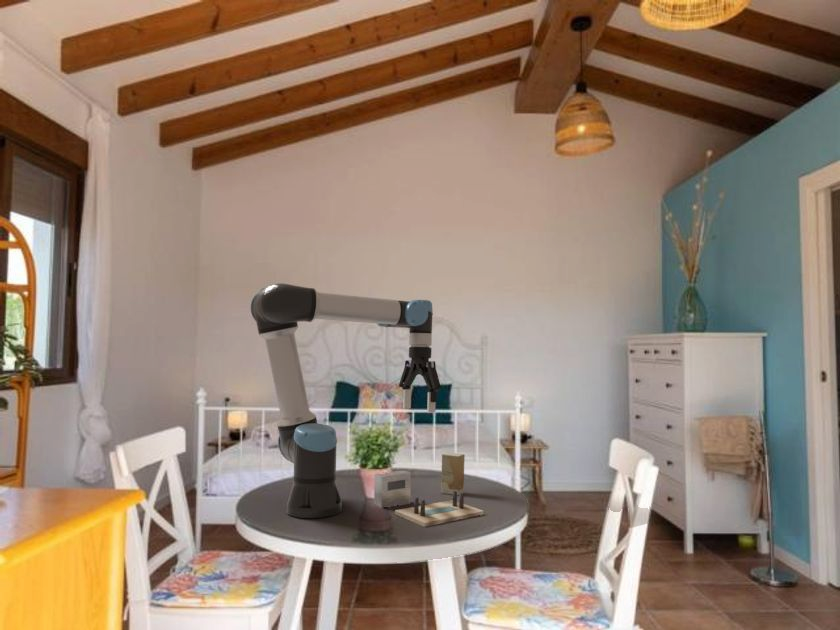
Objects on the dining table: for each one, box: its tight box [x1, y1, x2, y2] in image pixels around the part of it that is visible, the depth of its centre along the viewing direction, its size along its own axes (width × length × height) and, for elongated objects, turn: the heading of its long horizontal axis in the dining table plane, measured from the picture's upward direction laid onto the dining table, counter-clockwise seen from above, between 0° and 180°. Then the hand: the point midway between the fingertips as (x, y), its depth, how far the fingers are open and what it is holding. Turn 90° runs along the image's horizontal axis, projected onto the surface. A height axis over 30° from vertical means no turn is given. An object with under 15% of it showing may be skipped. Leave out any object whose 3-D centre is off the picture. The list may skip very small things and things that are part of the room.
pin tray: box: [394, 491, 485, 528], centre depth 163 cm, size 20×14×5 cm
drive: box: [373, 469, 412, 508], centre depth 173 cm, size 10×4×9 cm, turn 125°
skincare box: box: [440, 452, 466, 496], centre depth 187 cm, size 6×4×12 cm
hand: (418, 410), depth 197 cm, fingers open, 13 cm apart
